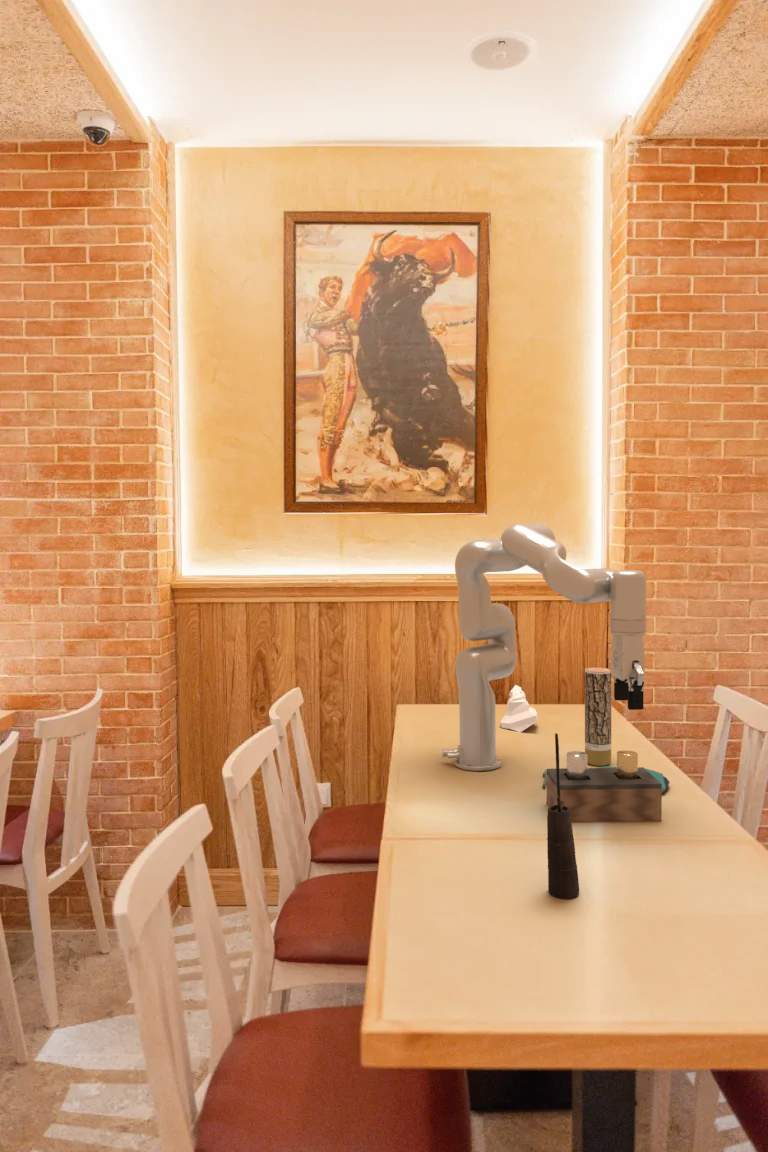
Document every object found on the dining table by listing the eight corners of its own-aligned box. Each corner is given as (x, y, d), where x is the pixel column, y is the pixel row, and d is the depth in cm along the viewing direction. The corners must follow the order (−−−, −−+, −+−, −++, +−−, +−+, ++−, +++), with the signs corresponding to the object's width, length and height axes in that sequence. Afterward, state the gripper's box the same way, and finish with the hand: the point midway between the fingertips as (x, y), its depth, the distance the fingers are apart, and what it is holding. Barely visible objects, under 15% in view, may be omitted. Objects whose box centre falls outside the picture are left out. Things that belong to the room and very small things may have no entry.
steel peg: (569, 788, 175) (569, 756, 174) (564, 782, 179) (564, 751, 179) (589, 788, 175) (589, 756, 174) (584, 782, 179) (584, 751, 179)
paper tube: (605, 768, 209) (605, 673, 208) (580, 763, 213) (580, 670, 212) (615, 762, 215) (615, 669, 213) (590, 758, 219) (591, 666, 218)
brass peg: (620, 788, 175) (620, 756, 174) (614, 781, 179) (614, 750, 179) (640, 787, 175) (640, 755, 174) (634, 781, 179) (634, 750, 179)
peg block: (558, 822, 171) (558, 785, 171) (546, 803, 183) (546, 768, 183) (661, 820, 171) (661, 783, 171) (643, 801, 183) (643, 767, 183)
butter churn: (551, 873, 146) (551, 720, 144) (601, 887, 140) (601, 728, 138) (526, 891, 139) (525, 731, 137) (577, 907, 133) (577, 739, 131)
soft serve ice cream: (499, 737, 248) (488, 692, 250) (506, 729, 262) (496, 687, 264) (539, 729, 245) (527, 683, 246) (544, 722, 259) (532, 679, 260)
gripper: (600, 622, 184) (600, 697, 185) (623, 632, 167) (623, 713, 168) (632, 622, 184) (632, 696, 185) (659, 631, 167) (659, 713, 168)
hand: (628, 704), depth 176 cm, fingers open, 9 cm apart
